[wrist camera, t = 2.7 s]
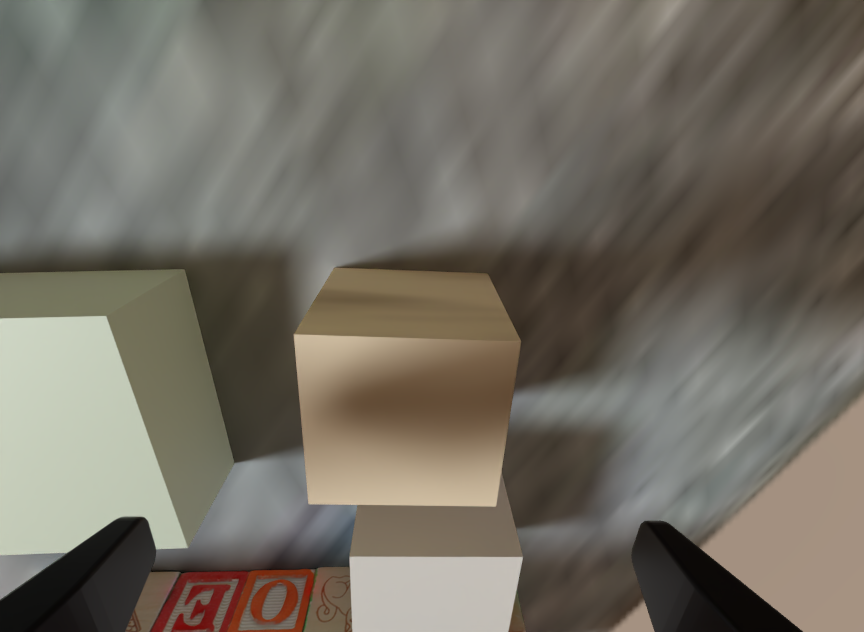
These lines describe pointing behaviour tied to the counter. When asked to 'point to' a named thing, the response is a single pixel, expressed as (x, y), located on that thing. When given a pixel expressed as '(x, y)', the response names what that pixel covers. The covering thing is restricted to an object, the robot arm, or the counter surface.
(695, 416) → the counter surface
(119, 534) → the robot arm
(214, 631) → the stack of blocks
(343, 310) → the maple cube
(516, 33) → the counter surface
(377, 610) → the grey cube
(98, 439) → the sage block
